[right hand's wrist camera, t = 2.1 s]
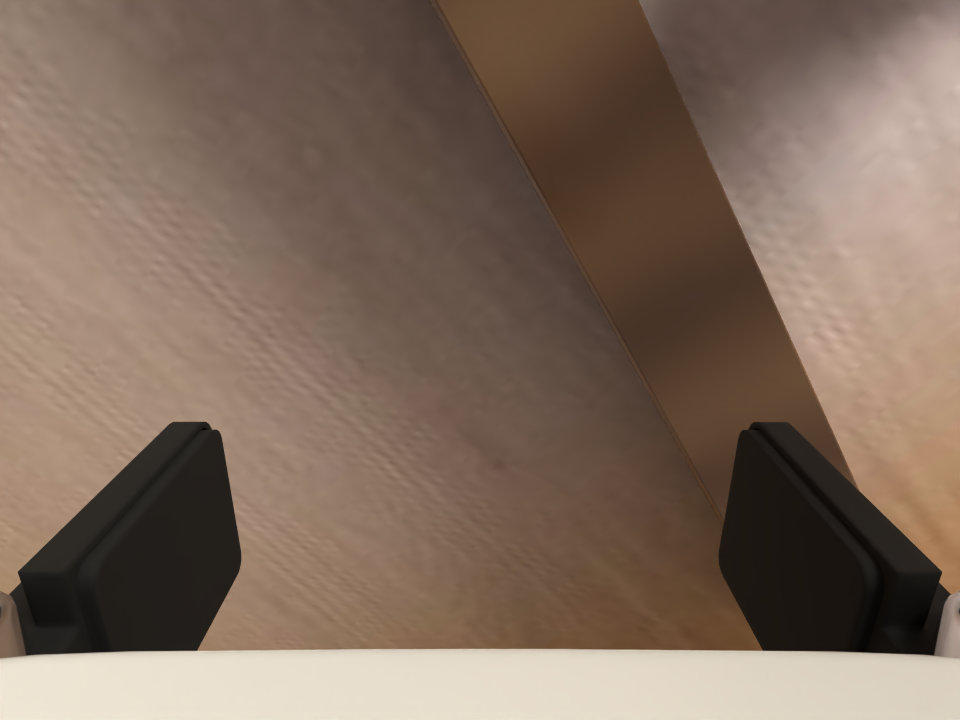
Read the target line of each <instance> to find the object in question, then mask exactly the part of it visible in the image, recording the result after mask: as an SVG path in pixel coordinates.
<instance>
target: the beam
mask: <svg viewBox="0 0 960 720" xmlns="http://www.w3.org/2000/svg"><path fill="white" fill-rule="evenodd" d="M429 1H430V2H431V4H432V6H433V8H434V9H435V11H436V13H437V15H438V17H439V18H440V20H441V22H442V24H443V26H444V27H445V29H446V31H447V33H448V35H449V36H450V38H451V40H452V42H453V44H454V45H455V47H456V49H457V51H458V53H459V54H460V56H461V58H462V60H463V61H464V63H465V65H466V67H467V69H468V70H469V72H470V74H471V76H472V78H473V79H474V81H475V83H476V85H477V87H478V88H479V90H480V92H481V94H482V96H483V97H484V99H485V101H486V103H487V104H488V106H489V108H490V110H491V112H492V113H493V115H494V117H495V119H496V121H497V122H498V124H499V126H500V128H501V130H502V131H503V133H504V135H505V137H506V139H507V140H508V142H509V144H510V146H511V148H512V149H513V151H514V153H515V155H516V156H517V158H518V160H519V162H520V164H521V165H522V167H523V169H524V171H525V173H526V174H527V176H528V178H529V180H530V182H531V183H532V185H533V187H534V189H535V191H536V192H537V194H538V196H539V198H540V199H541V201H542V203H543V205H544V207H545V208H546V210H547V212H548V214H549V216H550V217H551V219H552V221H553V223H554V225H555V226H556V228H557V230H558V232H559V234H560V235H561V237H562V239H563V241H564V243H565V244H566V246H567V248H568V250H569V251H570V253H571V255H572V257H573V259H574V260H575V262H576V264H577V266H578V268H579V269H580V271H581V273H582V275H583V277H584V278H585V280H586V282H587V284H588V286H589V287H590V289H591V291H592V293H593V294H594V296H595V298H596V300H597V302H598V303H599V305H600V307H601V309H602V311H603V312H604V314H605V316H606V318H607V320H608V321H609V323H610V325H611V327H612V329H613V330H614V332H615V334H616V336H617V338H618V339H619V341H620V343H621V345H622V346H623V348H624V350H625V352H626V354H627V355H628V357H629V359H630V361H631V363H632V364H633V366H634V368H635V370H636V372H637V373H638V375H639V377H640V379H641V381H642V382H643V384H644V386H645V388H646V389H647V391H648V393H649V395H650V397H651V398H652V400H653V402H654V404H655V406H656V407H657V409H658V411H659V413H660V415H661V416H662V418H663V420H664V422H665V424H666V425H667V427H668V429H669V431H670V433H671V434H672V436H673V438H674V440H675V441H676V443H677V445H678V447H679V449H680V450H681V452H682V454H683V456H684V458H685V459H686V461H687V463H688V465H689V467H690V468H691V470H692V472H693V474H694V476H695V477H696V479H697V481H698V483H699V484H700V486H701V488H702V490H703V492H704V493H705V495H706V497H707V499H708V501H709V502H710V504H711V506H712V508H713V510H714V511H715V513H716V515H717V517H718V519H719V520H720V522H721V524H722V526H723V525H724V519H725V513H726V507H727V502H728V496H729V490H730V484H731V478H732V472H733V466H734V460H735V454H736V448H737V443H738V437H739V434H740V432H741V431H742V430H748V429H749V427H750V425H751V424H752V423H753V422H788V423H789V424H791V425H792V426H793V427H794V428H795V429H796V430H797V431H798V432H799V433H800V434H801V435H802V436H803V437H804V438H805V439H806V440H807V441H808V442H809V443H810V444H811V445H812V446H813V447H814V448H816V449H817V450H818V451H819V452H820V453H821V454H822V455H823V456H824V457H825V458H826V459H827V460H828V461H829V462H830V463H831V464H832V465H833V466H834V467H835V468H836V469H837V470H838V471H839V472H840V473H841V474H842V475H843V476H844V477H845V478H846V479H847V480H848V481H849V482H850V483H851V484H852V485H853V486H854V487H856V488H857V489H858V487H857V485H856V482H855V480H854V478H853V476H852V473H851V471H850V469H849V467H848V465H847V462H846V460H845V458H844V456H843V453H842V451H841V449H840V447H839V445H838V442H837V440H836V438H835V436H834V433H833V431H832V429H831V427H830V425H829V422H828V420H827V418H826V416H825V413H824V411H823V409H822V407H821V405H820V402H819V400H818V398H817V396H816V394H815V391H814V389H813V387H812V385H811V382H810V380H809V378H808V376H807V374H806V371H805V369H804V367H803V365H802V362H801V360H800V358H799V356H798V354H797V351H796V349H795V347H794V345H793V342H792V340H791V338H790V336H789V334H788V331H787V329H786V327H785V325H784V322H783V320H782V318H781V316H780V314H779V311H778V309H777V307H776V305H775V303H774V300H773V298H772V296H771V294H770V291H769V289H768V287H767V285H766V283H765V280H764V278H763V276H762V274H761V271H760V269H759V267H758V265H757V263H756V260H755V258H754V256H753V254H752V251H751V249H750V247H749V245H748V243H747V240H746V238H745V236H744V234H743V231H742V229H741V227H740V225H739V223H738V220H737V218H736V216H735V214H734V212H733V209H732V207H731V205H730V203H729V200H728V198H727V196H726V194H725V192H724V189H723V187H722V185H721V183H720V180H719V178H718V176H717V174H716V172H715V169H714V167H713V165H712V163H711V160H710V158H709V156H708V154H707V152H706V149H705V147H704V145H703V143H702V140H701V138H700V136H699V134H698V132H697V129H696V127H695V125H694V123H693V121H692V118H691V116H690V114H689V112H688V109H687V107H686V105H685V103H684V101H683V98H682V96H681V94H680V92H679V89H678V87H677V85H676V83H675V81H674V78H673V76H672V74H671V72H670V69H669V67H668V65H667V63H666V61H665V58H664V56H663V54H662V52H661V49H660V47H659V45H658V43H657V41H656V38H655V36H654V34H653V32H652V30H651V27H650V25H649V23H648V21H647V18H646V16H645V14H644V12H643V10H642V7H641V5H640V3H639V1H638V0H429ZM858 490H859V489H858Z"/></svg>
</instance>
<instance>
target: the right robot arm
mask: <svg viewBox="0 0 960 720" xmlns="http://www.w3.org/2000/svg"><path fill="white" fill-rule="evenodd" d="M240 565H241V549H240V543H239V537H238V531H237V525H236V519H235V513H234V507H233V502H232V496H231V490H230V484H229V478H228V472H227V466H226V460H225V454H224V448H223V442H222V437H221V434H220V432H219V431H218V430H212V429H211V427H210V425H209V424H208V423H207V422H172V423H171V424H169V425H168V426H167V427H166V428H165V429H164V430H163V431H162V432H161V433H160V434H159V435H158V436H157V437H156V438H155V439H154V440H153V441H152V442H151V443H150V444H149V445H148V446H147V447H146V448H144V449H143V450H142V451H141V452H140V453H139V454H138V455H137V456H136V457H135V458H134V459H133V460H132V461H131V462H130V463H129V464H128V465H127V466H126V467H125V468H124V469H123V470H122V471H121V472H120V473H119V474H118V475H117V476H116V477H115V478H114V479H113V480H112V481H111V482H110V483H109V484H108V485H107V486H106V487H104V488H103V489H102V490H101V491H100V492H99V493H98V494H97V495H96V496H95V497H94V498H93V499H92V500H91V501H90V502H89V503H88V504H87V505H86V506H85V507H84V508H83V509H82V510H81V511H80V512H79V513H78V514H77V515H76V516H75V517H74V518H73V519H72V520H71V521H70V522H69V523H68V524H67V525H65V526H64V527H63V528H62V529H61V530H60V531H59V532H58V533H57V534H56V535H55V536H54V537H53V538H52V539H51V540H50V541H49V542H48V543H47V544H46V545H45V546H44V547H43V548H42V549H41V550H40V551H39V552H38V553H37V554H36V555H35V556H34V557H33V558H32V559H31V560H30V561H29V562H28V563H27V564H25V565H24V566H23V567H22V568H21V569H20V570H19V571H18V574H19V577H20V580H21V583H20V584H19V585H18V586H17V587H16V588H15V589H14V590H13V591H12V592H11V593H10V594H9V595H8V594H6V593H3V592H1V591H0V720H960V591H959V592H957V593H954V594H952V595H951V594H950V593H949V592H948V591H947V590H946V589H945V588H944V587H943V586H942V585H941V584H940V583H939V580H940V577H941V574H942V571H941V570H940V569H939V568H938V567H937V566H936V565H935V564H933V563H932V562H931V561H930V560H929V559H928V558H927V557H926V556H925V555H924V554H923V553H922V552H921V551H920V550H919V549H918V548H917V547H916V546H915V545H914V544H913V543H912V542H911V541H910V540H909V539H908V538H907V537H906V536H905V535H904V534H903V533H902V532H901V531H900V530H899V529H898V528H897V527H896V526H895V525H893V524H892V523H891V522H890V521H889V520H888V519H887V518H886V517H885V516H884V515H883V514H882V513H881V512H880V511H879V510H878V509H877V508H876V507H875V506H874V505H873V504H872V503H871V502H870V501H869V500H868V499H867V498H866V497H865V496H864V495H863V494H862V493H861V492H860V491H859V490H858V489H857V488H856V487H854V486H853V485H852V484H851V483H850V482H849V481H848V480H847V479H846V478H845V477H844V476H843V475H842V474H841V473H840V472H839V471H838V470H837V469H836V468H835V467H834V466H833V465H832V464H831V463H830V462H829V461H828V460H827V459H826V458H825V457H824V456H823V455H822V454H821V453H820V452H819V451H818V450H817V449H816V448H814V447H813V446H812V445H811V444H810V443H809V442H808V441H807V440H806V439H805V438H804V437H803V436H802V435H801V434H800V433H799V432H798V431H797V430H796V429H795V428H794V427H793V426H792V425H791V424H789V423H788V422H753V423H752V424H751V425H750V427H749V429H748V430H742V431H741V432H740V434H739V437H738V443H737V448H736V454H735V460H734V466H733V472H732V478H731V484H730V490H729V496H728V502H727V507H726V513H725V519H724V525H723V531H722V537H721V543H720V549H719V565H720V569H721V572H722V575H723V577H724V579H725V580H726V582H727V584H728V586H729V588H730V590H731V592H732V594H733V595H734V597H735V599H736V601H737V603H738V605H739V607H740V608H741V610H742V612H743V614H744V616H745V618H746V620H747V622H748V623H749V625H750V627H751V629H752V631H753V633H754V635H755V637H756V638H757V640H758V642H759V644H760V646H761V648H762V650H763V651H719V650H603V649H337V650H241V651H197V650H198V648H199V646H200V644H201V642H202V640H203V638H204V637H205V635H206V633H207V631H208V629H209V627H210V625H211V623H212V622H213V620H214V618H215V616H216V614H217V612H218V610H219V608H220V607H221V605H222V603H223V601H224V599H225V597H226V595H227V594H228V592H229V590H230V588H231V586H232V584H233V582H234V580H235V579H236V577H237V575H238V572H239V569H240Z"/></svg>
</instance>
